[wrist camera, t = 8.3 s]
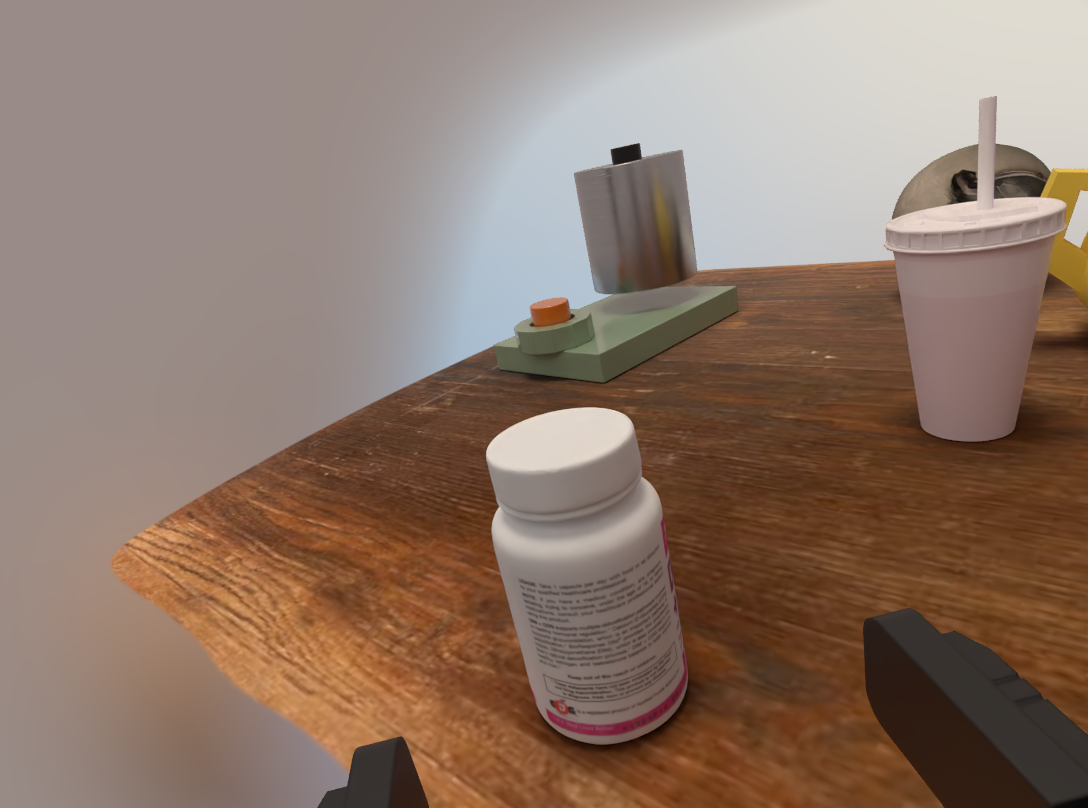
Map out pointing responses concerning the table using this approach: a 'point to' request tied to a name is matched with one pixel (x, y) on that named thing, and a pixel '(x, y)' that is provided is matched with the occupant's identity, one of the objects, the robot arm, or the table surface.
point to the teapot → (1068, 262)
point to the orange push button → (550, 312)
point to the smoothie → (973, 299)
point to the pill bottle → (587, 574)
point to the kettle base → (615, 332)
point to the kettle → (637, 221)
